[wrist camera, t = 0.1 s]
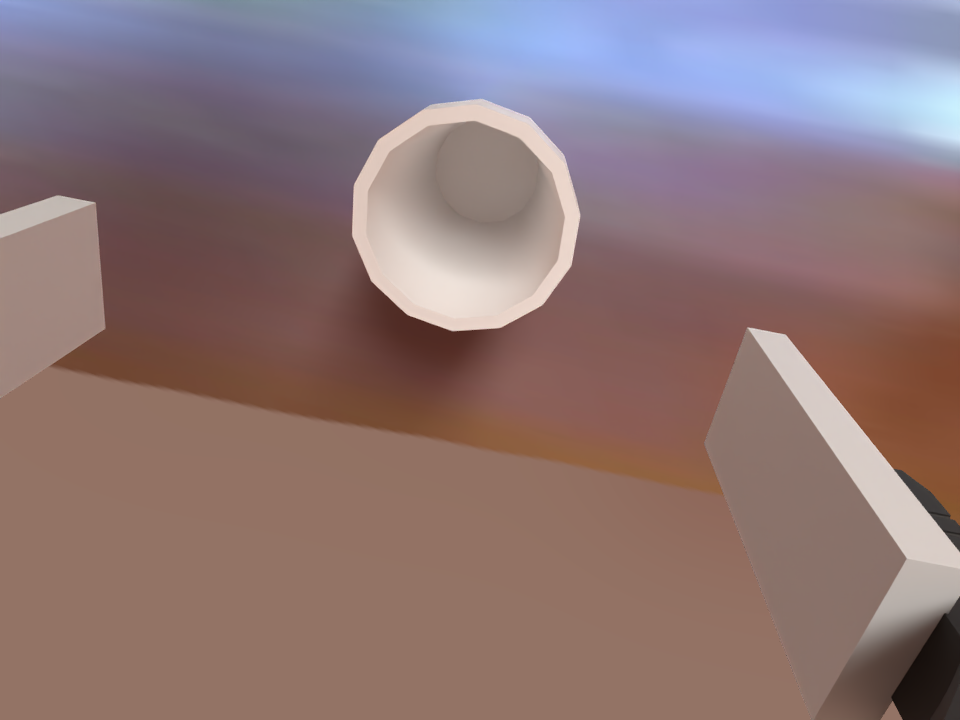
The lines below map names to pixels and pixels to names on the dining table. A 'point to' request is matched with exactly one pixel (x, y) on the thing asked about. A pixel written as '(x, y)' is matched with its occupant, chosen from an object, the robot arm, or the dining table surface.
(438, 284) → the foam cup
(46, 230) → the robot arm
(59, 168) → the dining table surface
